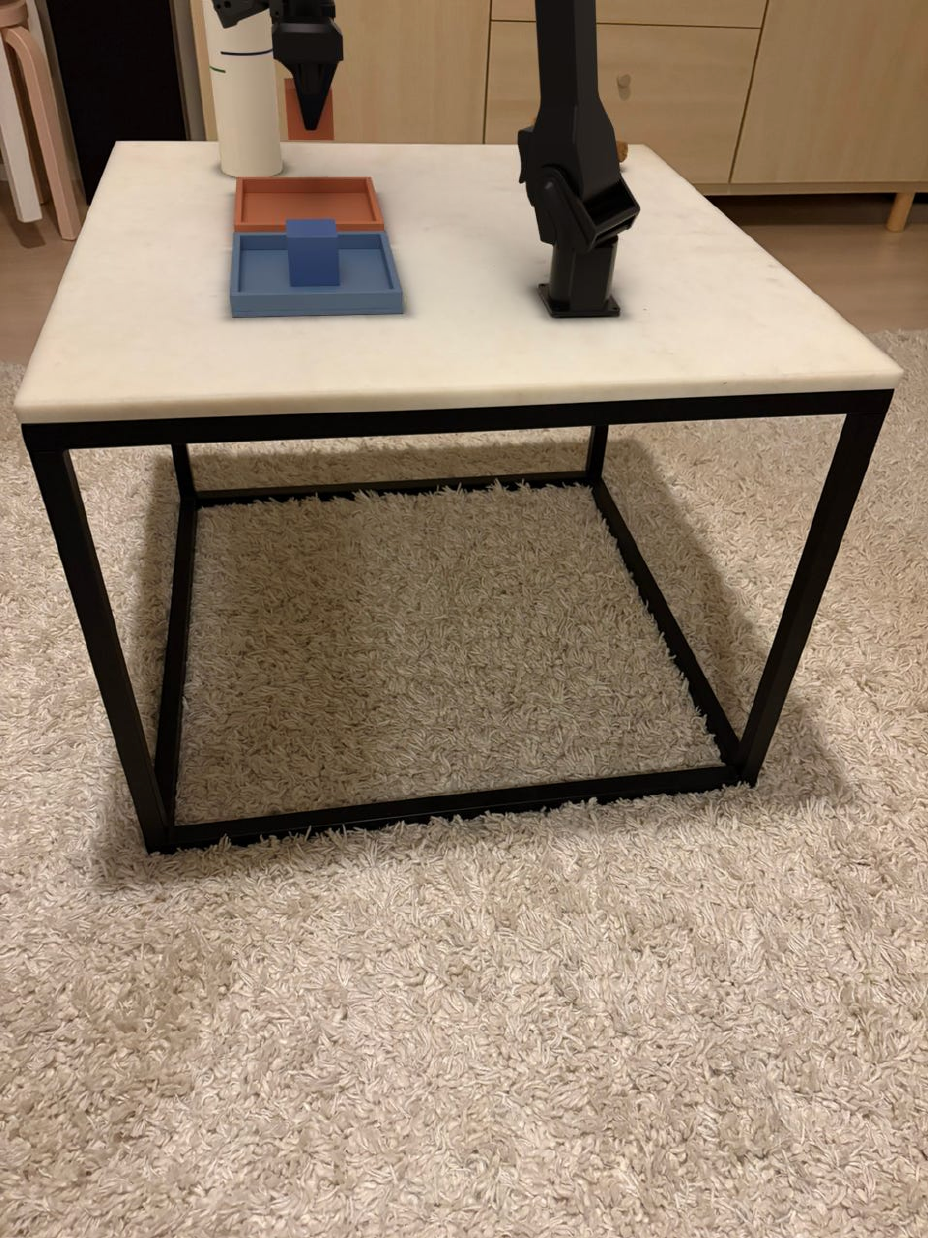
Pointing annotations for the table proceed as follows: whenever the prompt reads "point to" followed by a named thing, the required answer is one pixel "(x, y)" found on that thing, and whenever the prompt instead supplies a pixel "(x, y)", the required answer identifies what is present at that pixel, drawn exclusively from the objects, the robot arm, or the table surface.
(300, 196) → the clay tray
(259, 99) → the cylindrical container
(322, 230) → the blue block
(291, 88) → the clay block
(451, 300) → the table surface
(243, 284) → the blue tray
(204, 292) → the table surface
